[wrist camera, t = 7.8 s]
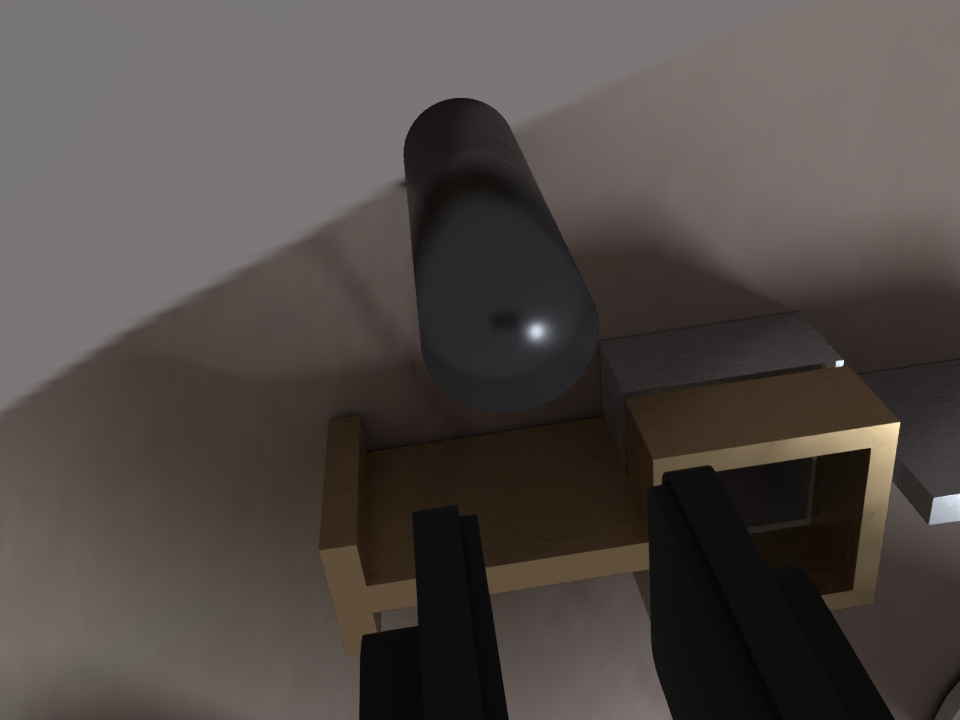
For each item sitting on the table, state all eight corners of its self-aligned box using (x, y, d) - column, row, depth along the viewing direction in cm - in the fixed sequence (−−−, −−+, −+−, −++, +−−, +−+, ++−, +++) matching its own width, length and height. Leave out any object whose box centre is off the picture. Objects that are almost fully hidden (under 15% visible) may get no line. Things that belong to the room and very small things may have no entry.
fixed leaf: (1076, 270, 30) (1241, 369, 24) (1037, 434, 33) (1173, 555, 27) (599, 341, 29) (653, 459, 23) (607, 501, 32) (656, 638, 27)
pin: (510, 90, 25) (594, 241, 15) (520, 200, 26) (602, 399, 17) (395, 106, 25) (407, 268, 15) (412, 215, 26) (433, 424, 17)
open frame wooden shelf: (801, 314, 29) (900, 421, 24) (790, 476, 32) (873, 603, 27) (320, 385, 29) (308, 512, 23) (358, 543, 32) (354, 686, 27)
